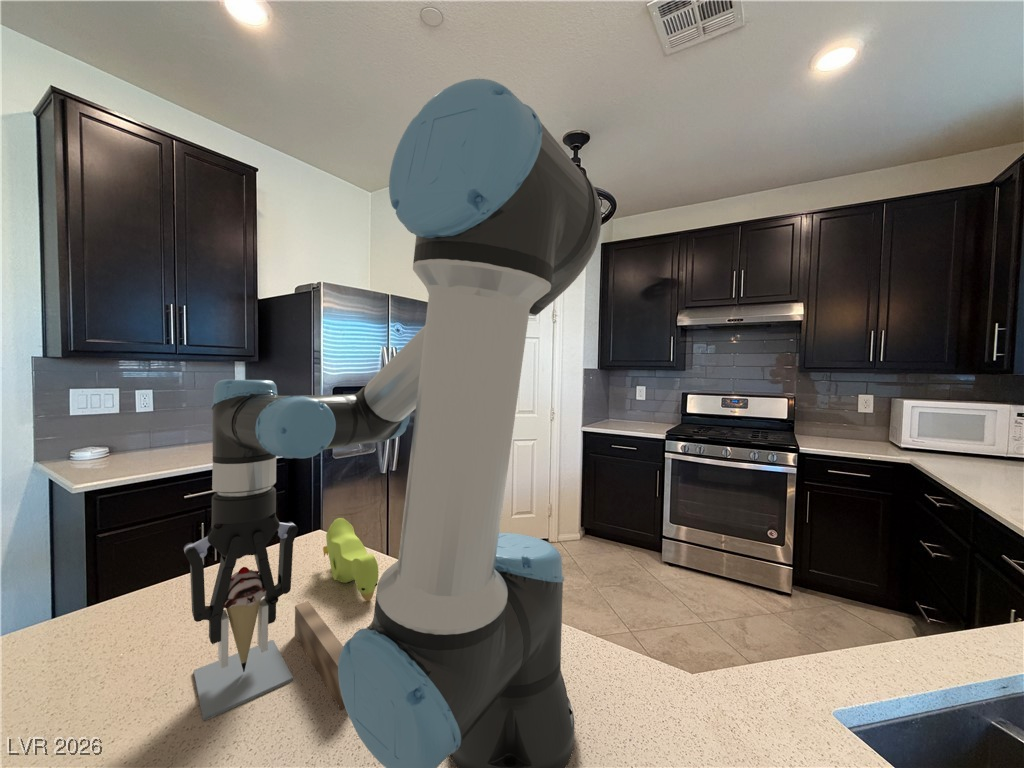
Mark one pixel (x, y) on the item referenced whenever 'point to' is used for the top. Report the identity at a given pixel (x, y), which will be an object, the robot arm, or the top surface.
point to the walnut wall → (319, 647)
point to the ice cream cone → (244, 608)
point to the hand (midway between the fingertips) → (243, 653)
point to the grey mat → (240, 680)
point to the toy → (350, 558)
